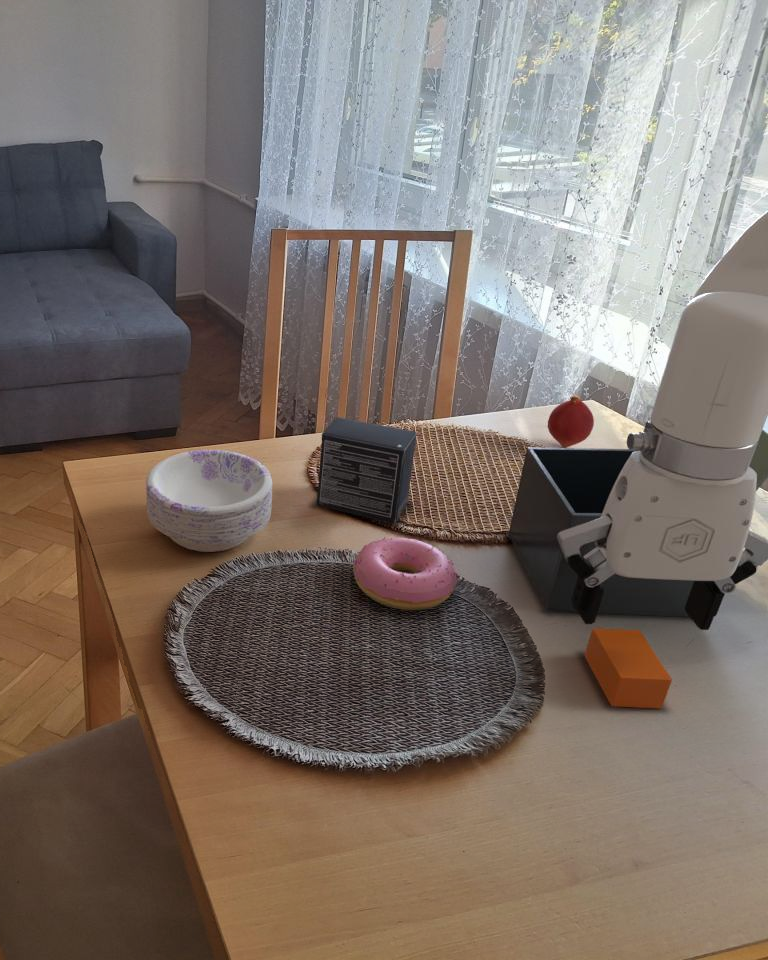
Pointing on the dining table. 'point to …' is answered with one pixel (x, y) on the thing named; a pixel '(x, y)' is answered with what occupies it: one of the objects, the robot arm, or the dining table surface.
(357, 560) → the doughnut
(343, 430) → the small box
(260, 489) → the paper bowls
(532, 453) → the bin
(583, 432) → the onion
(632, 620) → the dining table surface
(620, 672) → the block
